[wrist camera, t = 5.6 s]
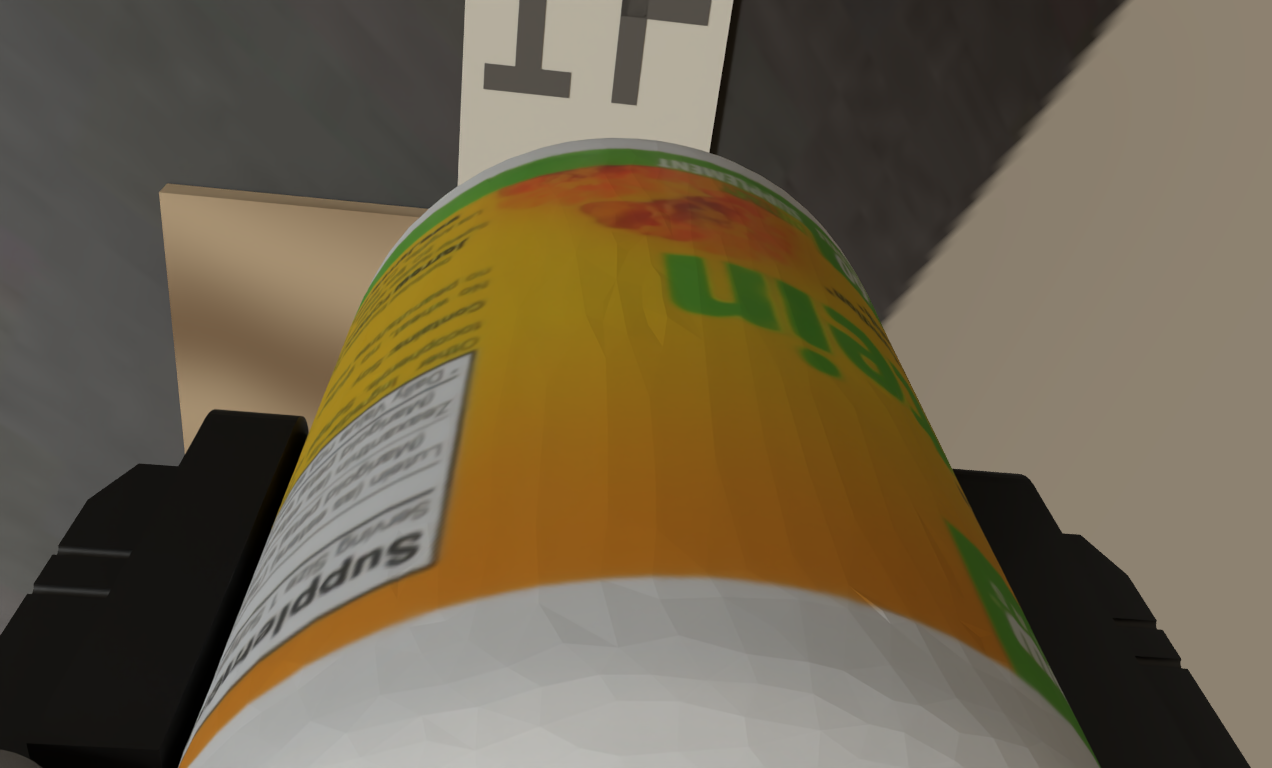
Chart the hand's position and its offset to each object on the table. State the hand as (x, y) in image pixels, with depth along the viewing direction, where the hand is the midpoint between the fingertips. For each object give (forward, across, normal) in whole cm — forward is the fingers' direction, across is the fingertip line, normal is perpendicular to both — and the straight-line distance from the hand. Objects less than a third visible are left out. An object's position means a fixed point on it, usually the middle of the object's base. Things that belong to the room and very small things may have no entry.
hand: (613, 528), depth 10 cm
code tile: (+18, 0, 0) cm, 18 cm away
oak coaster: (+18, +6, +9) cm, 21 cm away
